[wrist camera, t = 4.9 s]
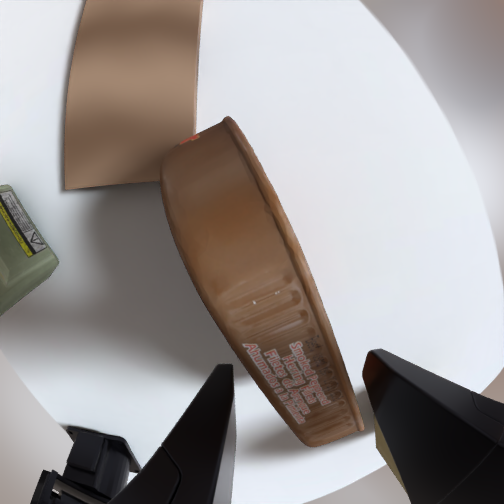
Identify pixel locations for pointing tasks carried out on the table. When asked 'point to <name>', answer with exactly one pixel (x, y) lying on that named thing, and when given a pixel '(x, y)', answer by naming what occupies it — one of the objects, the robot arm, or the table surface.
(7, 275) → the handheld radio
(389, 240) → the table surface
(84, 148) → the walnut board
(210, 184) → the tin
